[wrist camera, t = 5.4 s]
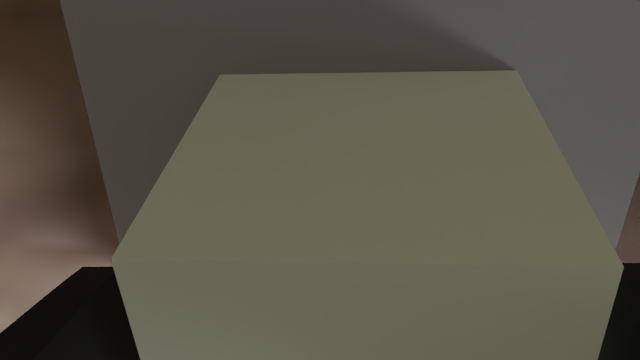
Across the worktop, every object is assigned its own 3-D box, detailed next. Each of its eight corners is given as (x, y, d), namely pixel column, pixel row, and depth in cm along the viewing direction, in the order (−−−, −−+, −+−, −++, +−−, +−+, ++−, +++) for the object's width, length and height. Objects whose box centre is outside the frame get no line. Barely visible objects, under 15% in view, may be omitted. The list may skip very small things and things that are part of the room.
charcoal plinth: (617, -102, 12) (714, -68, 9) (532, 279, 17) (571, 393, 14) (132, -98, 13) (43, -65, 9) (192, 266, 18) (150, 372, 15)
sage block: (517, 70, 10) (624, 267, 6) (486, 296, 12) (543, 547, 8) (219, 74, 10) (111, 259, 6) (251, 292, 13) (189, 527, 9)
